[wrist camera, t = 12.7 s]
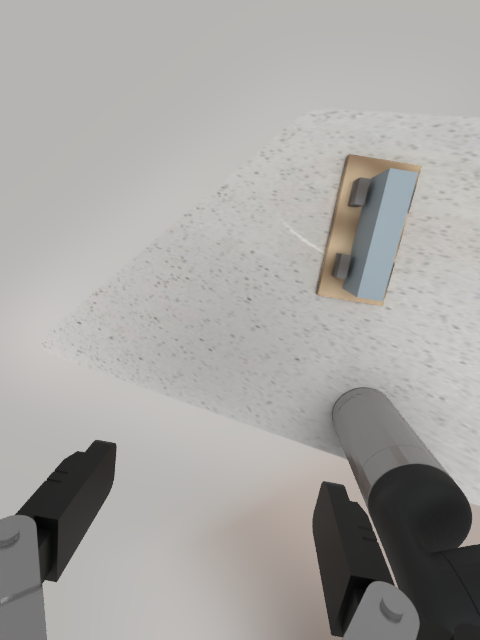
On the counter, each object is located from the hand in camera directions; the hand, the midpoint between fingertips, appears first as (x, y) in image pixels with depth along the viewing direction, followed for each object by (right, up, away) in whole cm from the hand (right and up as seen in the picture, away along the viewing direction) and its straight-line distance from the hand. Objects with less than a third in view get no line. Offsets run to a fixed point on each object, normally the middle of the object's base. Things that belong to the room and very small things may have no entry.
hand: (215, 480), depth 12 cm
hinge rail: (+18, +18, +32) cm, 40 cm away
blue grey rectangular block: (+18, +17, +30) cm, 39 cm away
